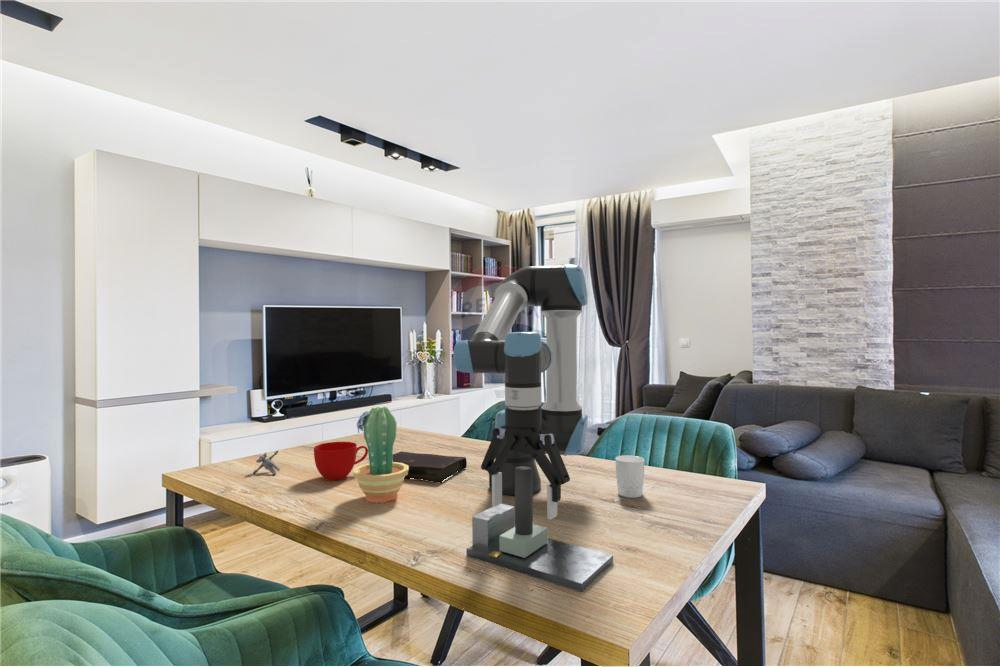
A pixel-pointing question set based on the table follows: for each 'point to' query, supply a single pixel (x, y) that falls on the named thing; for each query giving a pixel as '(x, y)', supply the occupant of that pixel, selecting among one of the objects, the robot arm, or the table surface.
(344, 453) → the ceramic cup
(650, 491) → the table surface
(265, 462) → the grey figurine
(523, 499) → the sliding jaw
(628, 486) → the white cup
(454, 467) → the diary
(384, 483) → the potted cactus
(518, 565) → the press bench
